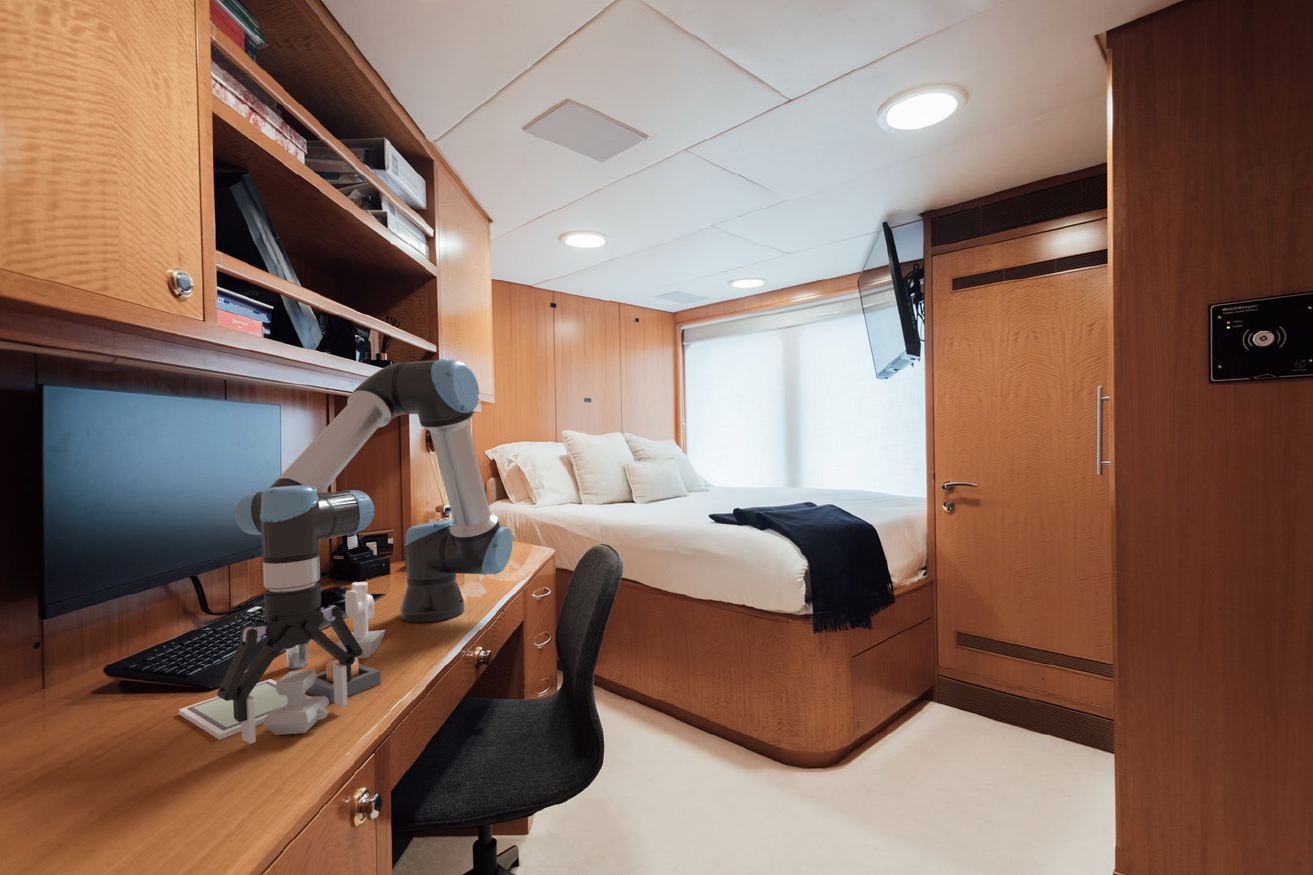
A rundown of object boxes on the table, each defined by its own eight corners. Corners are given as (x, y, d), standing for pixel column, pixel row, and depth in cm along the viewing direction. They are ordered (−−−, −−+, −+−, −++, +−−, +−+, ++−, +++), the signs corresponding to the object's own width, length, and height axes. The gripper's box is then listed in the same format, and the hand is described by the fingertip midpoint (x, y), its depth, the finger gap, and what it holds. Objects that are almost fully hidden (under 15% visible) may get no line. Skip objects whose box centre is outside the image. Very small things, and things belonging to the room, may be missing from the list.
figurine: (388, 645, 130) (385, 576, 130) (370, 662, 121) (367, 587, 120) (353, 647, 129) (351, 577, 129) (333, 664, 120) (330, 589, 120)
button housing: (353, 673, 115) (353, 661, 115) (380, 683, 110) (380, 670, 110) (304, 691, 107) (304, 678, 107) (331, 703, 102) (330, 689, 102)
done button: (349, 670, 112) (348, 654, 112) (364, 676, 109) (364, 660, 109) (320, 680, 108) (320, 664, 108) (336, 687, 105) (335, 670, 105)
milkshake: (302, 671, 117) (300, 620, 117) (278, 669, 118) (276, 619, 118) (319, 662, 121) (318, 613, 121) (297, 660, 122) (295, 612, 122)
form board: (270, 683, 111) (270, 678, 111) (314, 703, 103) (314, 698, 103) (179, 714, 100) (178, 708, 100) (219, 739, 91) (219, 733, 91)
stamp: (255, 742, 90) (253, 686, 90) (280, 720, 97) (278, 668, 97) (317, 738, 91) (315, 682, 91) (337, 717, 97) (335, 665, 97)
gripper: (357, 566, 106) (361, 685, 106) (186, 602, 85) (192, 751, 85) (381, 571, 102) (385, 695, 102) (208, 610, 81) (214, 766, 81)
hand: (297, 721), depth 94 cm, fingers open, 13 cm apart
